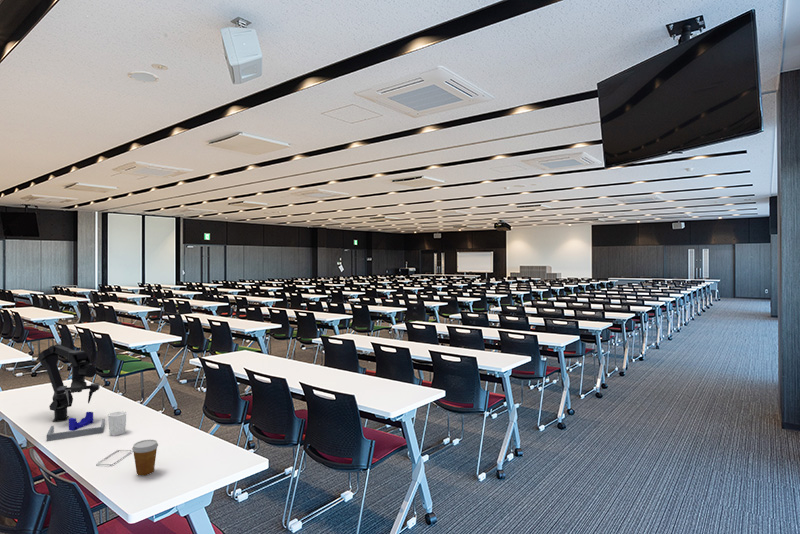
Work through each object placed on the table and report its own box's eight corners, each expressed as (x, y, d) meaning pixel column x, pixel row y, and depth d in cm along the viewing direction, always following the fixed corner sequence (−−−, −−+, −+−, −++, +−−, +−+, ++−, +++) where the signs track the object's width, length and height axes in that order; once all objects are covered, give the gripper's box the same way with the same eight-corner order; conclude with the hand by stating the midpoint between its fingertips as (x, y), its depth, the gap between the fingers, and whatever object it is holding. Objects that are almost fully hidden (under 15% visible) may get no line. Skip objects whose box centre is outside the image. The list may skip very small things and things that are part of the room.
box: (51, 431, 240) (51, 425, 240) (104, 424, 251) (104, 418, 251) (46, 441, 228) (46, 435, 228) (102, 432, 239) (102, 426, 239)
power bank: (112, 467, 201) (133, 452, 216) (112, 464, 201) (133, 449, 216) (95, 467, 201) (117, 452, 216) (95, 463, 201) (117, 449, 216)
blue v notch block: (86, 422, 254) (86, 411, 254) (93, 423, 253) (93, 412, 253) (66, 430, 243) (66, 418, 242) (73, 431, 242) (73, 419, 242)
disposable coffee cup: (138, 467, 199) (138, 439, 199) (162, 466, 200) (162, 438, 200) (127, 478, 190) (127, 448, 190) (152, 477, 191) (152, 447, 190)
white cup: (130, 431, 240) (129, 412, 240) (115, 437, 233) (114, 417, 233) (119, 429, 244) (119, 410, 243) (104, 434, 236) (104, 414, 236)
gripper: (53, 380, 241) (53, 411, 241) (97, 377, 249) (97, 406, 250) (58, 375, 251) (58, 404, 251) (99, 372, 259) (99, 400, 259)
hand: (78, 404), depth 253 cm, fingers open, 9 cm apart
